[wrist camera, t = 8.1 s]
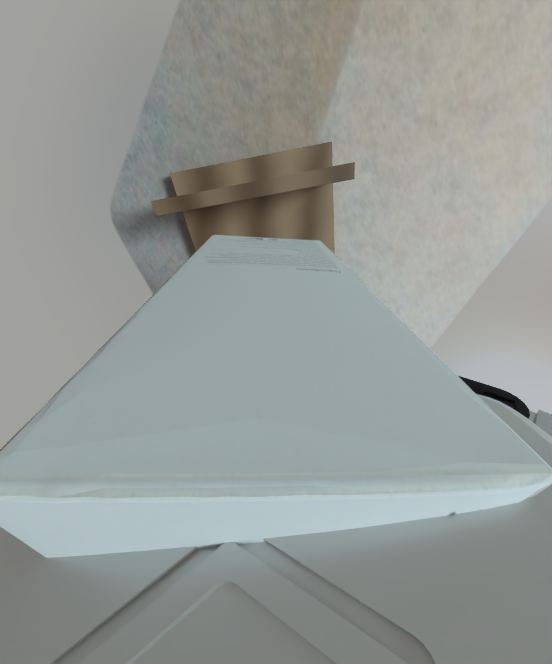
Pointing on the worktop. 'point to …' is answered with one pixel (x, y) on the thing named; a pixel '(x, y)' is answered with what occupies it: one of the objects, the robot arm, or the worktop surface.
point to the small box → (256, 418)
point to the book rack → (260, 196)
